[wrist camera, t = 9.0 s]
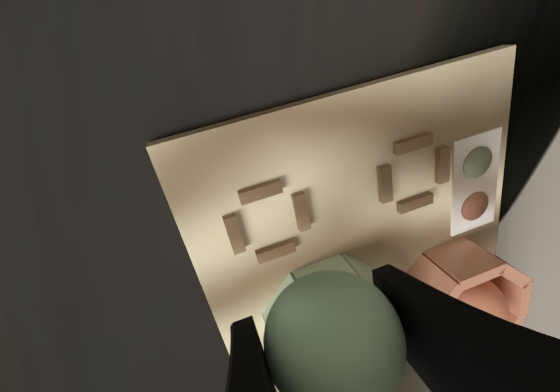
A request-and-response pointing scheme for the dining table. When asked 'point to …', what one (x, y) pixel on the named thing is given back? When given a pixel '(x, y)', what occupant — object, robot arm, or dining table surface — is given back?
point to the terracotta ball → (487, 299)
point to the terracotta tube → (473, 274)
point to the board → (340, 179)
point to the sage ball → (334, 336)
